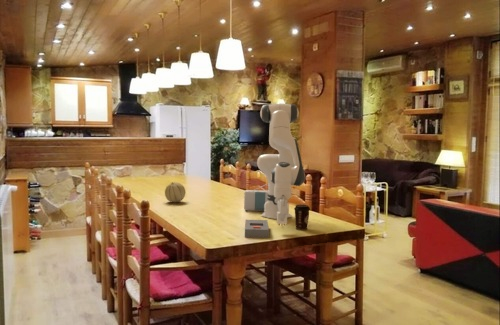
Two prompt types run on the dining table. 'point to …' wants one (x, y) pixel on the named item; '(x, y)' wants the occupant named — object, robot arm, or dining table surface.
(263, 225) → the socket block
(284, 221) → the plug
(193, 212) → the dining table surface
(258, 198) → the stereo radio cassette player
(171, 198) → the cantaloupe
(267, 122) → the robot arm
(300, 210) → the coffee cup
